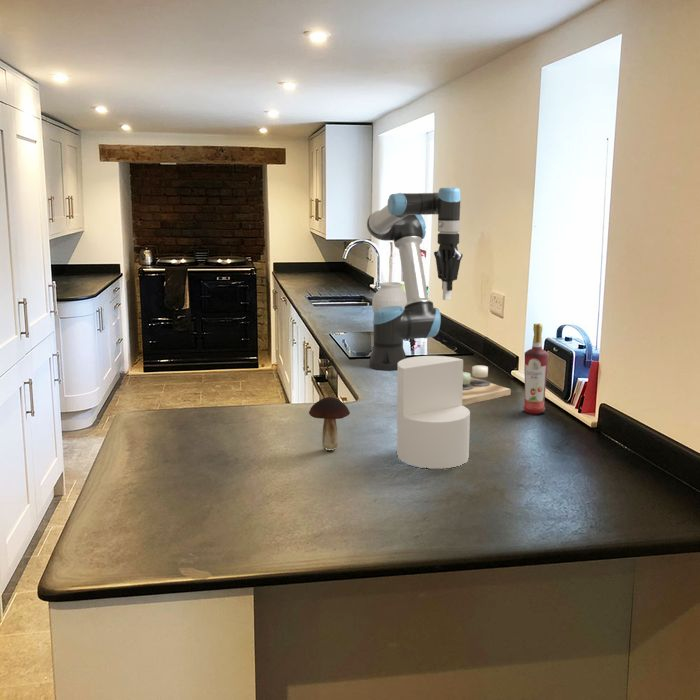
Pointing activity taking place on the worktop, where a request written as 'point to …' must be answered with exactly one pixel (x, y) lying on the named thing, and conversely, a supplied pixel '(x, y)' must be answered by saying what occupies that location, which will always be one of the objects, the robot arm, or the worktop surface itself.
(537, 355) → the liquor
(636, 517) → the worktop surface
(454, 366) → the cylinder
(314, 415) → the decorative mushroom
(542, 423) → the worktop surface
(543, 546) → the worktop surface
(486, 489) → the worktop surface
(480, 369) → the cream button
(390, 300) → the vase
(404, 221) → the robot arm
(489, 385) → the button board
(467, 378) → the sage button
